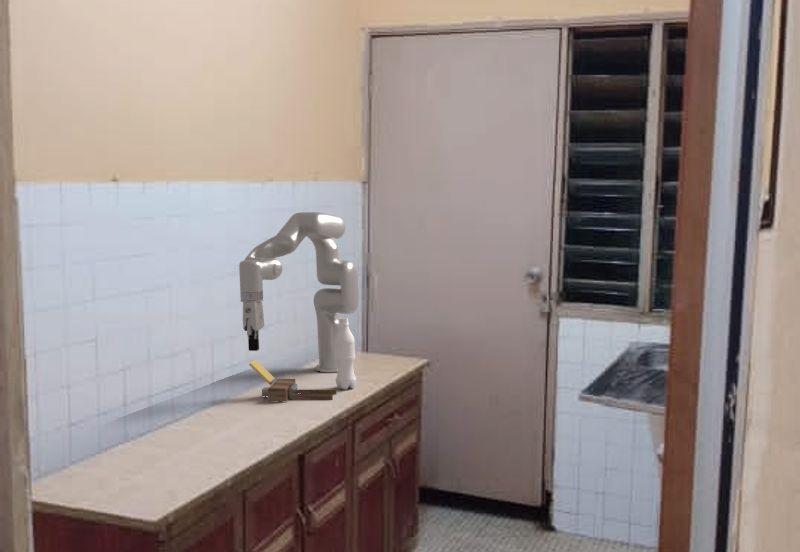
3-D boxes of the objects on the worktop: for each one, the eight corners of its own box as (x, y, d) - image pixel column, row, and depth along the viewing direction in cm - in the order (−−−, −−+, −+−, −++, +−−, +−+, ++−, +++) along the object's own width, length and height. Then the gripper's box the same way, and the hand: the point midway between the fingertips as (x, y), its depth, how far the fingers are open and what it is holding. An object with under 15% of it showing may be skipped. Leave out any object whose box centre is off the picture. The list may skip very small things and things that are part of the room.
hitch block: (278, 391, 298) (278, 378, 298) (338, 391, 296) (337, 378, 296) (268, 402, 285) (267, 388, 284) (330, 402, 282) (330, 388, 282)
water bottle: (357, 385, 304) (355, 316, 301) (354, 390, 297) (352, 319, 294) (338, 385, 305) (335, 316, 302) (334, 390, 298) (331, 319, 295)
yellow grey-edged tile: (254, 360, 294) (255, 358, 294) (275, 381, 294) (277, 379, 294) (248, 364, 288) (250, 362, 288) (270, 385, 288) (272, 383, 288)
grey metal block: (260, 399, 289) (260, 387, 289) (266, 394, 295) (265, 383, 295) (292, 399, 288) (292, 387, 287) (297, 395, 293) (297, 383, 293)
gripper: (256, 299, 281) (258, 354, 282) (268, 293, 295) (270, 346, 297) (234, 299, 281) (236, 354, 283) (247, 294, 296) (249, 346, 298)
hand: (253, 350), depth 290 cm, fingers closed
